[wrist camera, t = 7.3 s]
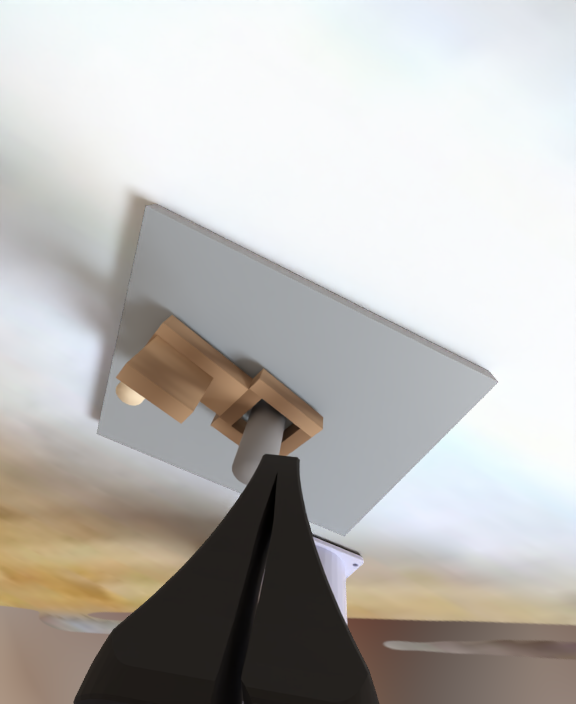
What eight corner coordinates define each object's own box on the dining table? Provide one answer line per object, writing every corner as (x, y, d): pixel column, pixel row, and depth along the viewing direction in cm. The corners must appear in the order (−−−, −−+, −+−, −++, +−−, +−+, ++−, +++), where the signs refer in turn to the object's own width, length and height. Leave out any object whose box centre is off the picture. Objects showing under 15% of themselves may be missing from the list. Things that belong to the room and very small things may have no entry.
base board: (343, 523, 28) (347, 607, 23) (106, 423, 26) (44, 489, 20) (489, 371, 20) (551, 445, 14) (156, 204, 18) (75, 214, 12)
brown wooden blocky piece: (323, 416, 21) (321, 469, 17) (272, 455, 23) (261, 509, 19) (181, 301, 18) (142, 333, 15) (139, 357, 21) (95, 397, 17)
